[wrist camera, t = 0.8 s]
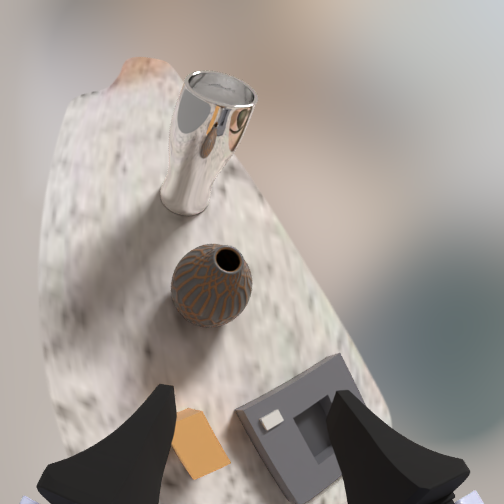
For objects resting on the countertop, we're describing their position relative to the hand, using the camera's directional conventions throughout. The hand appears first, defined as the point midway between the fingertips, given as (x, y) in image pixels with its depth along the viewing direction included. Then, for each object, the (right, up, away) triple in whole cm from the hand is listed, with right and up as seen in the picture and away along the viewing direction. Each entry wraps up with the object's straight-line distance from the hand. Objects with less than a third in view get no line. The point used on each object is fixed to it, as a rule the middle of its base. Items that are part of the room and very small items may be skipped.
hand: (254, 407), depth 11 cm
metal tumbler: (-8, +13, +22) cm, 27 cm away
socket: (+6, -11, +13) cm, 18 cm away
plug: (-6, -9, +9) cm, 14 cm away
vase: (-5, +2, +16) cm, 17 cm away
